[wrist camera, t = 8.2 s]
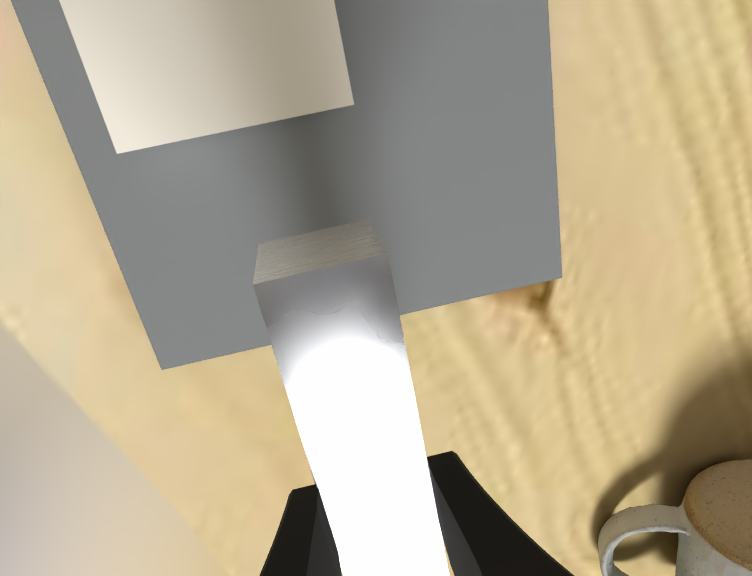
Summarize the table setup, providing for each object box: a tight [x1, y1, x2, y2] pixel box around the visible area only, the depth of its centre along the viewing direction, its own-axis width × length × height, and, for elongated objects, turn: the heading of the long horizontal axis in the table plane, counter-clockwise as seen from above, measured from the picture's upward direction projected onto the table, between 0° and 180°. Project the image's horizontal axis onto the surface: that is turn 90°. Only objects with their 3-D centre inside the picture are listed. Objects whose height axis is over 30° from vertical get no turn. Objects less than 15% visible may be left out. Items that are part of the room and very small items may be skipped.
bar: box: [253, 219, 449, 576], centre depth 13 cm, size 2×12×2 cm, turn 11°
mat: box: [11, 0, 562, 370], centre depth 17 cm, size 16×16×1 cm
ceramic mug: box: [598, 459, 752, 576], centre depth 24 cm, size 11×8×8 cm
